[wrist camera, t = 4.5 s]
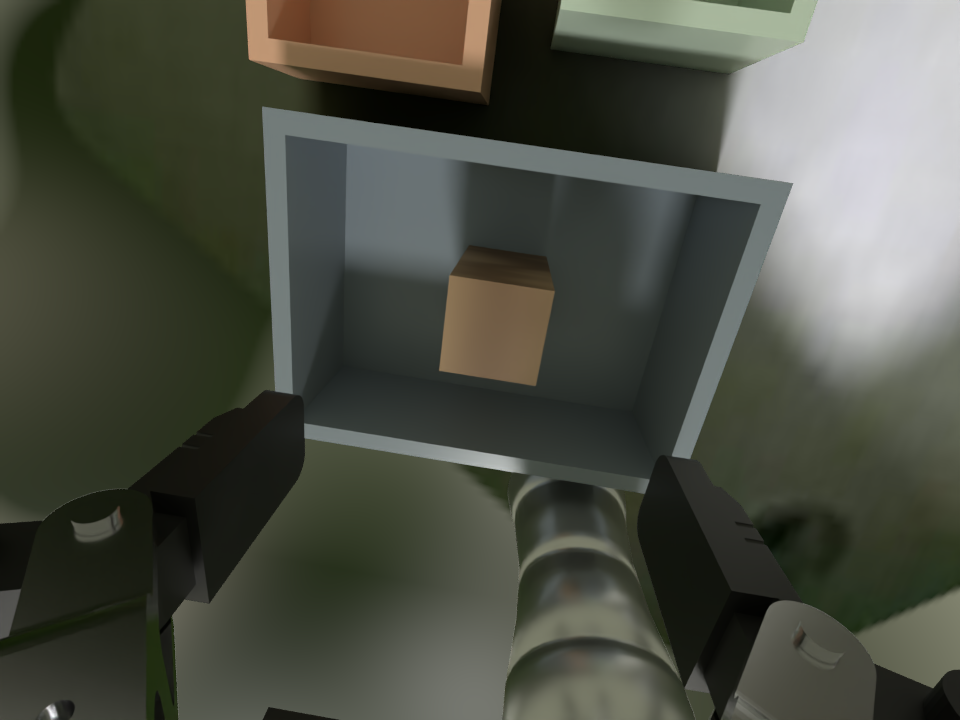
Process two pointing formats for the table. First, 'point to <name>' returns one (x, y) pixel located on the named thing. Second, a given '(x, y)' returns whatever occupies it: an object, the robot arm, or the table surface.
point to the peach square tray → (381, 44)
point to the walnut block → (497, 315)
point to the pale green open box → (682, 30)
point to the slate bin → (518, 228)
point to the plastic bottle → (582, 612)
